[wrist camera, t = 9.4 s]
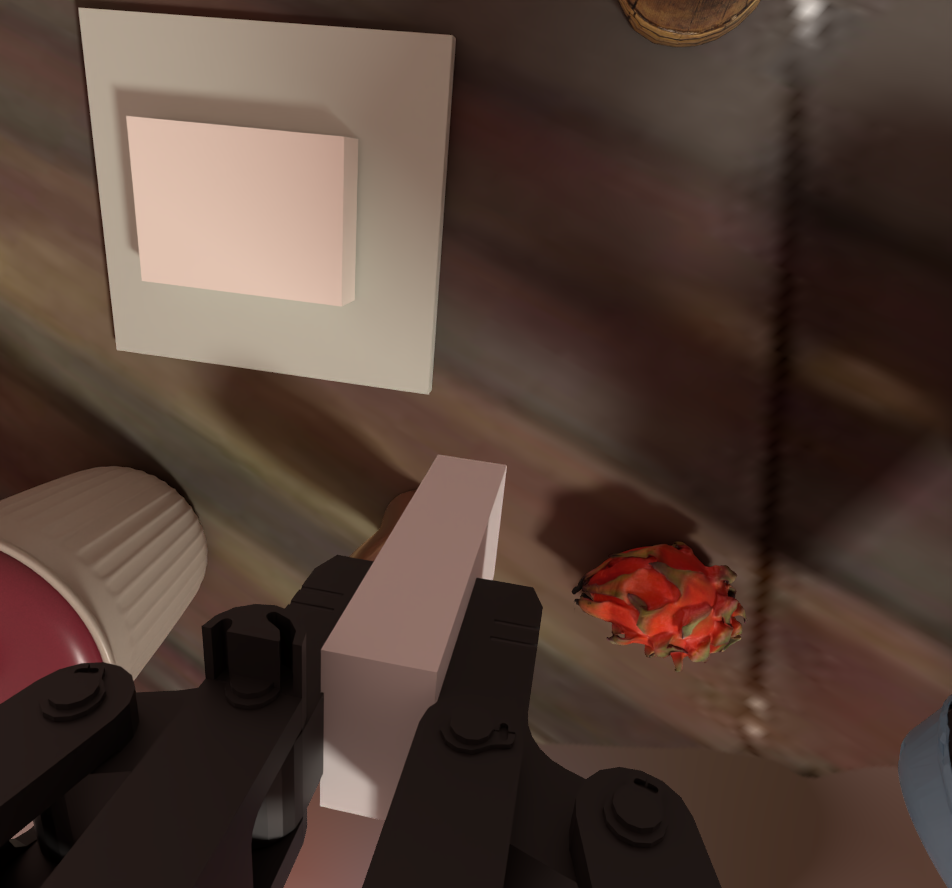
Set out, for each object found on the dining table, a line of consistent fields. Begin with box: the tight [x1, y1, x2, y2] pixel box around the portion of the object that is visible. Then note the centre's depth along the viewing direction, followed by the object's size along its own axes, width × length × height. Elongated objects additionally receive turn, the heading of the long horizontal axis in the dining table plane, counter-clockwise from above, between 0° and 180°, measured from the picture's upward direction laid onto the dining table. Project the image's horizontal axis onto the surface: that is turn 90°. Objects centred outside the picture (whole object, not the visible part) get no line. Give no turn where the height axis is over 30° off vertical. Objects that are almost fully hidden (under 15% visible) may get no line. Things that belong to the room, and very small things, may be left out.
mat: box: [78, 8, 456, 394], centre depth 45 cm, size 24×22×1 cm
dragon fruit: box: [572, 542, 747, 672], centre depth 48 cm, size 8×8×12 cm
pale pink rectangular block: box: [126, 116, 358, 307], centre depth 44 cm, size 3×10×14 cm
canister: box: [0, 466, 208, 704], centre depth 48 cm, size 18×18×21 cm
